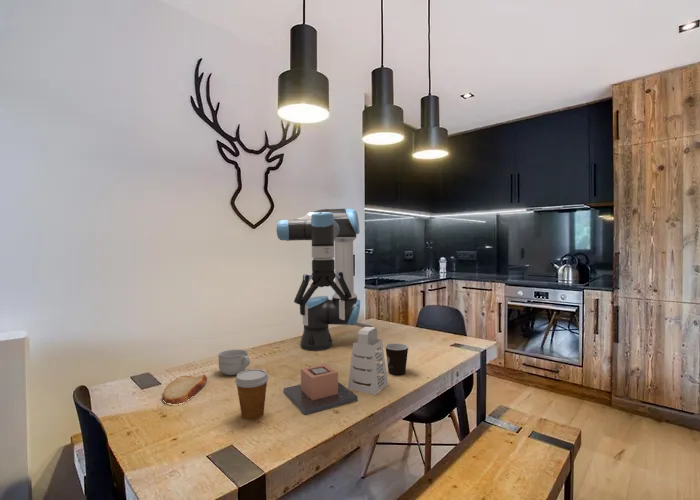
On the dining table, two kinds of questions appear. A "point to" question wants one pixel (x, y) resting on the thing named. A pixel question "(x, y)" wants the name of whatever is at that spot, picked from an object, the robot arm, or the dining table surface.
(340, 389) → the post stand
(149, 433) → the dining table surface
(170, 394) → the slice of bread
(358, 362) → the grater
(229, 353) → the teacup
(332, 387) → the hollow square tube
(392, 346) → the coffee mug
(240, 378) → the disposable coffee cup
